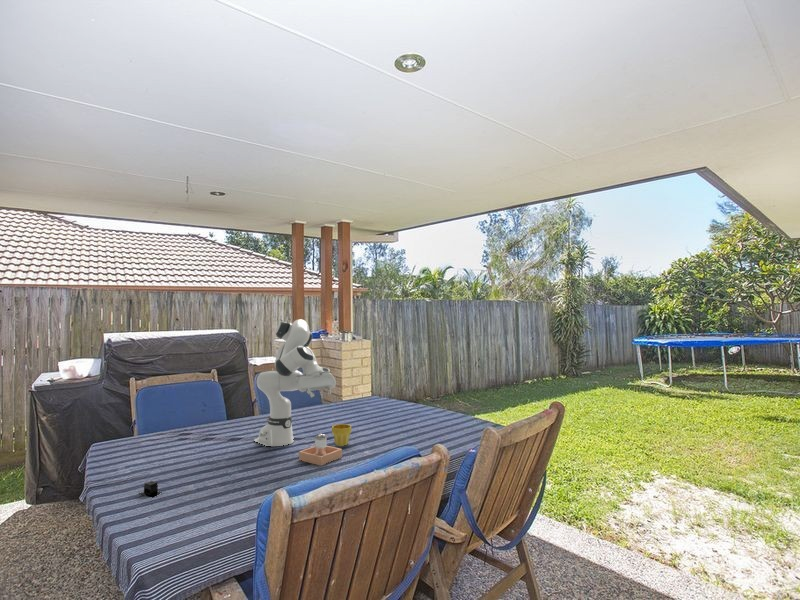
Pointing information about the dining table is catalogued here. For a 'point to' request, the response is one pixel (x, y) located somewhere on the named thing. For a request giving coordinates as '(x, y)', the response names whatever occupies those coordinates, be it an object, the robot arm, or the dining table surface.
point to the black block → (150, 489)
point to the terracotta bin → (310, 456)
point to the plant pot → (341, 434)
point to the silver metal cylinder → (320, 445)
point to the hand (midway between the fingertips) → (321, 395)
